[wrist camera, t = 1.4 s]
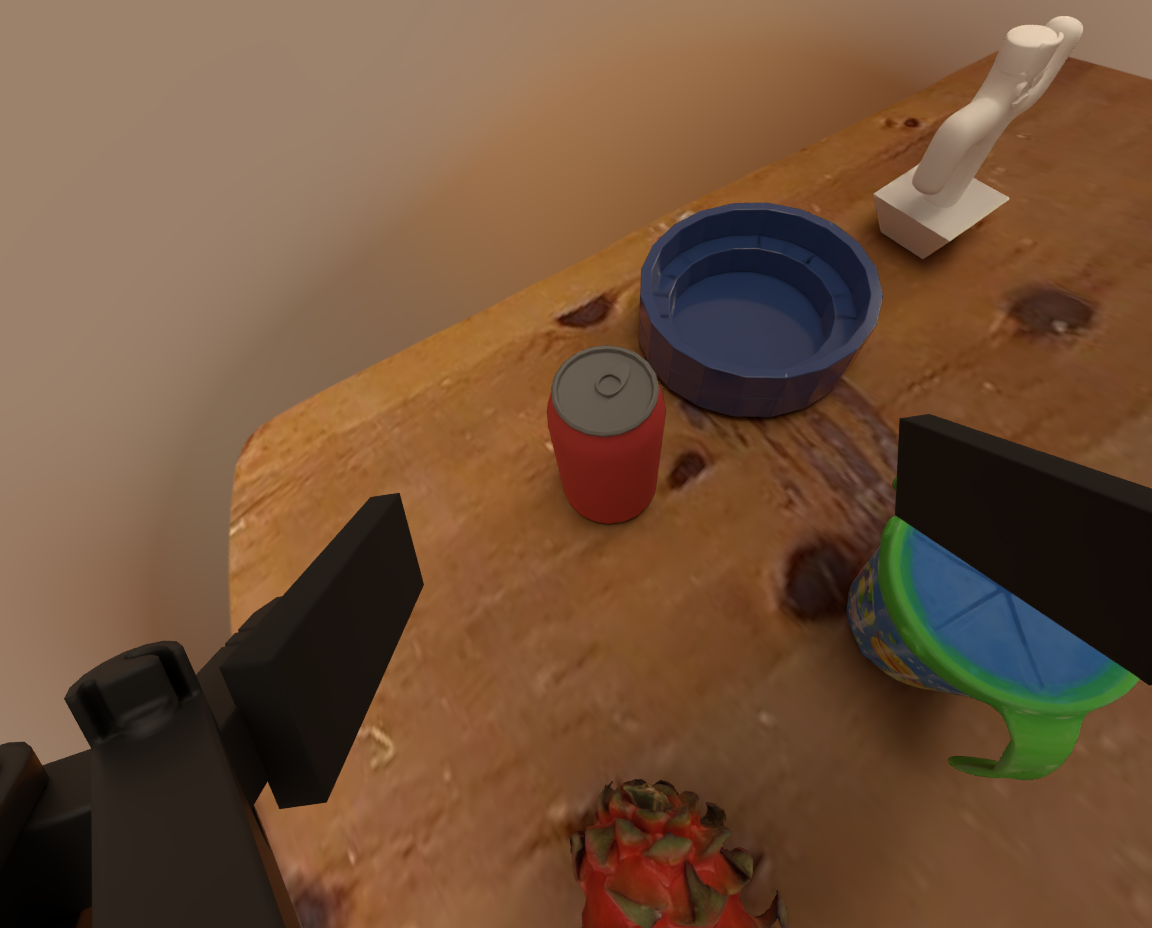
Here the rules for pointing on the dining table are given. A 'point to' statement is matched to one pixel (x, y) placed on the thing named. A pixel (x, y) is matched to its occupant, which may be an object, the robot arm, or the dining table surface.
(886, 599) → the snack cup
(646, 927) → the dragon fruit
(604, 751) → the dining table surface
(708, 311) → the bowl
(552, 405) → the beer can
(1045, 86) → the figurine
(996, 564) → the robot arm
